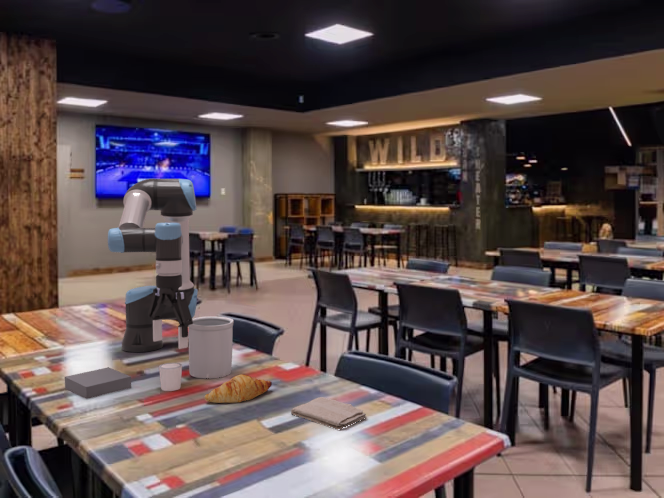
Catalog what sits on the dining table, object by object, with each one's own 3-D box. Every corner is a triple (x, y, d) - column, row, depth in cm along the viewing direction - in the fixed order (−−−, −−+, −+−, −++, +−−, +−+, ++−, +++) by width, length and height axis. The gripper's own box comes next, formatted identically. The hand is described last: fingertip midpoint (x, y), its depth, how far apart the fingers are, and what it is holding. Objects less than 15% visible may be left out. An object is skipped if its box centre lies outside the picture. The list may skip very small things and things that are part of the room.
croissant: (209, 419, 167) (214, 398, 163) (196, 394, 174) (200, 373, 170) (275, 403, 179) (281, 383, 176) (260, 380, 186) (266, 360, 182)
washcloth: (341, 433, 150) (341, 421, 150) (288, 416, 161) (288, 405, 161) (369, 420, 159) (369, 408, 159) (317, 404, 170) (317, 394, 170)
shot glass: (176, 392, 179) (175, 369, 178) (155, 390, 180) (154, 367, 179) (186, 385, 185) (186, 363, 185) (165, 383, 187) (165, 361, 186)
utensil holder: (242, 369, 202) (242, 318, 201) (216, 382, 189) (215, 327, 187) (206, 364, 209) (206, 314, 207) (178, 375, 195) (177, 322, 194)
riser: (108, 379, 192) (108, 367, 192) (131, 389, 183) (131, 376, 182) (65, 389, 182) (64, 376, 182) (86, 400, 172) (86, 387, 172)
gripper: (135, 271, 185) (137, 339, 187) (182, 279, 169) (183, 353, 170) (157, 270, 191) (158, 335, 192) (204, 276, 174) (205, 348, 176)
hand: (170, 344), depth 181 cm, fingers open, 13 cm apart
